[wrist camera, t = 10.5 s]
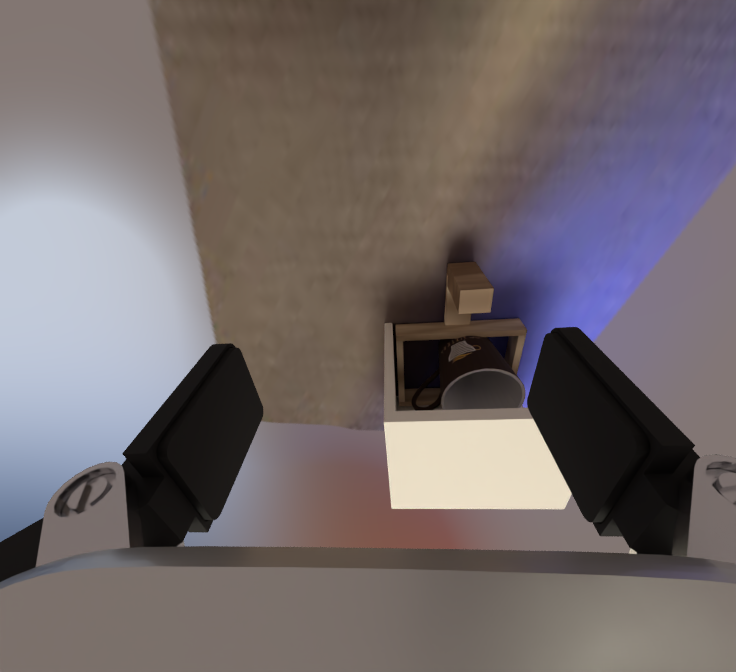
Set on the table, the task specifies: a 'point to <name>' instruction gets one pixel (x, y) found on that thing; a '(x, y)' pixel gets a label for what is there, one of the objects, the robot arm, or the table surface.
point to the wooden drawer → (460, 324)
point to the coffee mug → (473, 377)
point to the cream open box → (466, 455)
